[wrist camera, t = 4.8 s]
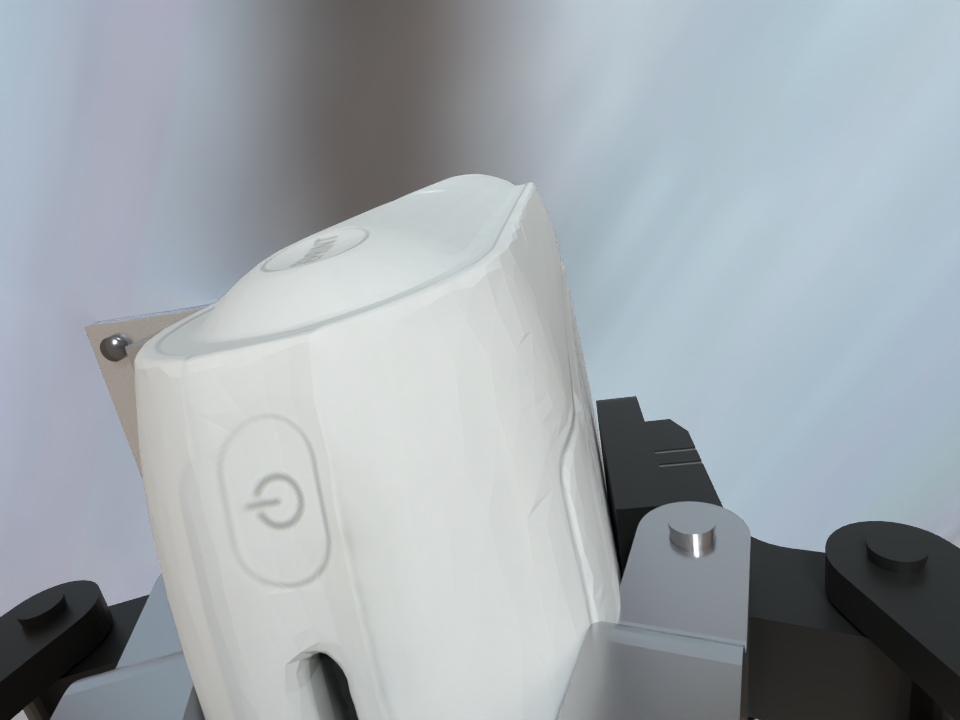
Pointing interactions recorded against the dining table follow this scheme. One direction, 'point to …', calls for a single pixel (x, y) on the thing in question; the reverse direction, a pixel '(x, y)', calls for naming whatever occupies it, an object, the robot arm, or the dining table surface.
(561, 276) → the photo printer
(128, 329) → the plate
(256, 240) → the dining table surface
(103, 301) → the dining table surface
